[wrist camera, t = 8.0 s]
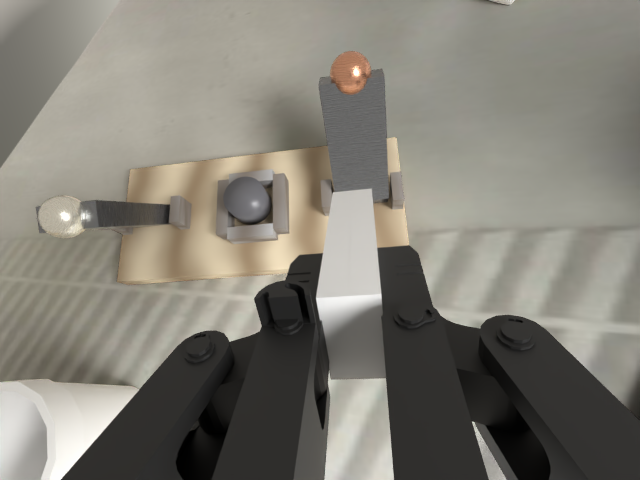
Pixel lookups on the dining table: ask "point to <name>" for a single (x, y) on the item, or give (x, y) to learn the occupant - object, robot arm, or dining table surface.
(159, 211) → the grey lever handle
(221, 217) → the switch board
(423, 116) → the dining table surface
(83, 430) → the foam cup
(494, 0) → the juice carton
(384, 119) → the copper ball grey stand
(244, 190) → the charcoal button
